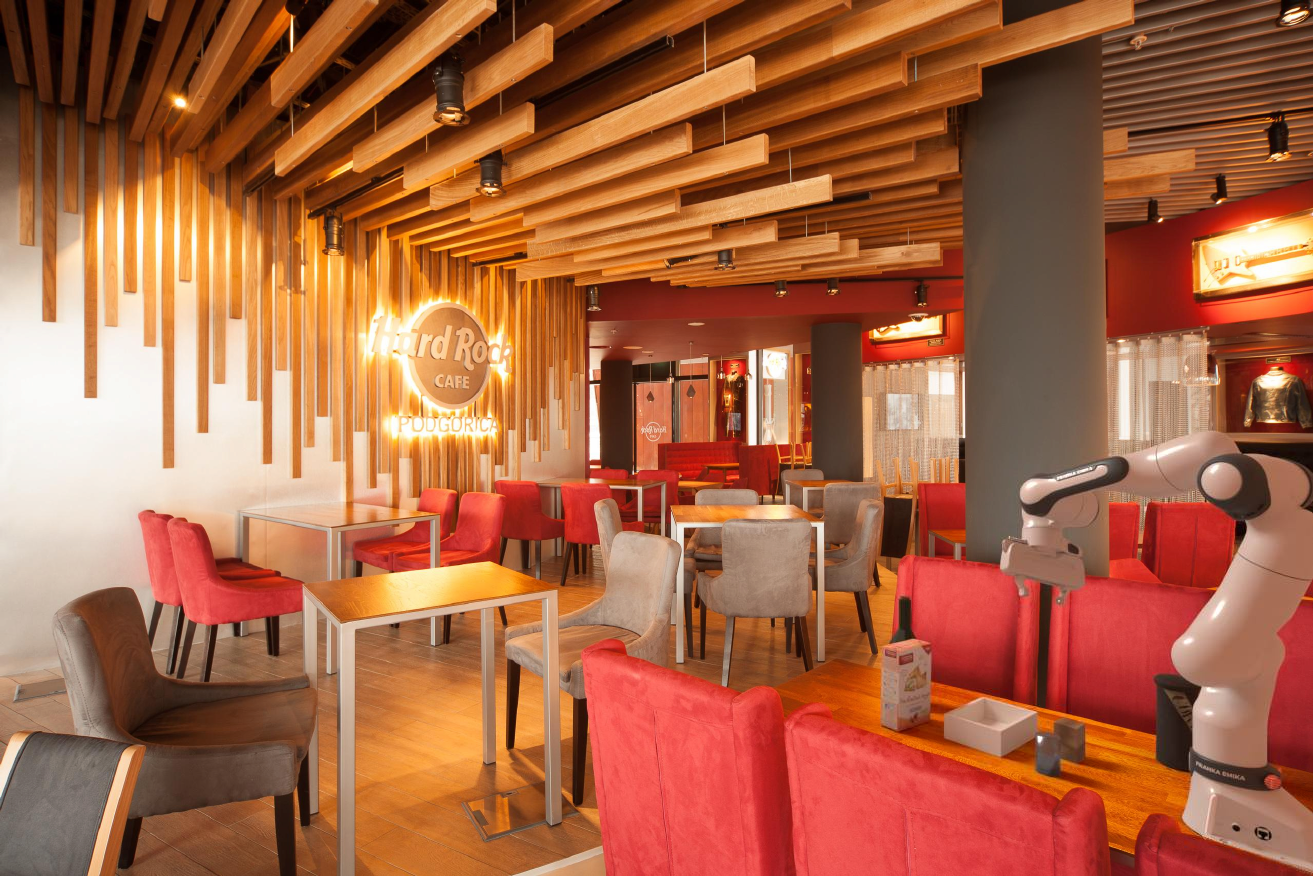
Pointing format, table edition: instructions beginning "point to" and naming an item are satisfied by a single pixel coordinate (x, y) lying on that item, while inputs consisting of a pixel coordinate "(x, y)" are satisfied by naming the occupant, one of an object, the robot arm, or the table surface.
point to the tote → (991, 726)
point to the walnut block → (1071, 739)
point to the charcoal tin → (1048, 753)
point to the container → (1174, 719)
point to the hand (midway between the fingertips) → (1042, 600)
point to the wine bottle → (904, 622)
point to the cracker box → (905, 684)
